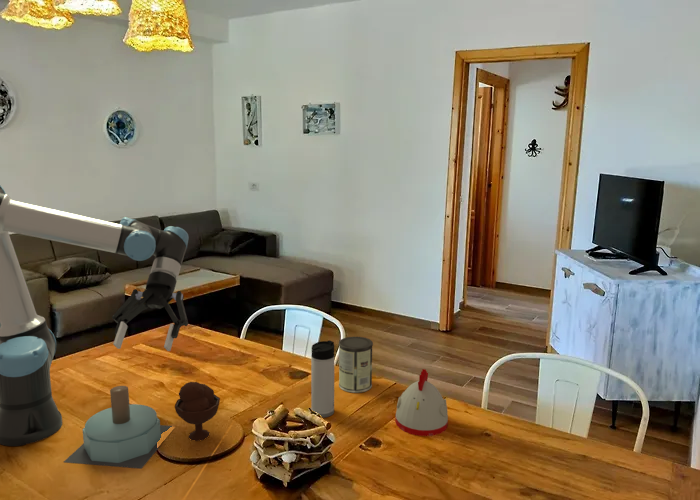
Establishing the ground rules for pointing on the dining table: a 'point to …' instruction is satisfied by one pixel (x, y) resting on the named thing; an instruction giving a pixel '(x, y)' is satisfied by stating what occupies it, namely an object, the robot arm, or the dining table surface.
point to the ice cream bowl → (197, 407)
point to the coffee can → (355, 364)
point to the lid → (121, 430)
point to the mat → (137, 462)
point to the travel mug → (322, 378)
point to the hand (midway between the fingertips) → (141, 347)
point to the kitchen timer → (422, 409)
